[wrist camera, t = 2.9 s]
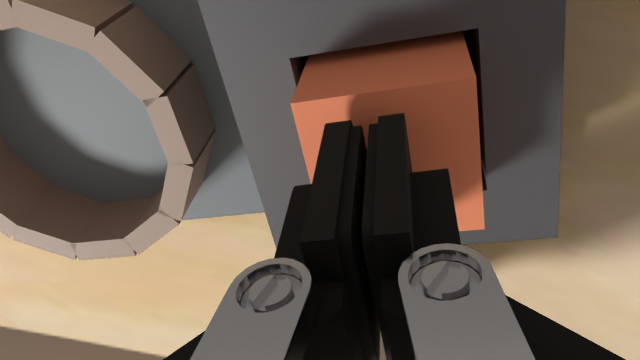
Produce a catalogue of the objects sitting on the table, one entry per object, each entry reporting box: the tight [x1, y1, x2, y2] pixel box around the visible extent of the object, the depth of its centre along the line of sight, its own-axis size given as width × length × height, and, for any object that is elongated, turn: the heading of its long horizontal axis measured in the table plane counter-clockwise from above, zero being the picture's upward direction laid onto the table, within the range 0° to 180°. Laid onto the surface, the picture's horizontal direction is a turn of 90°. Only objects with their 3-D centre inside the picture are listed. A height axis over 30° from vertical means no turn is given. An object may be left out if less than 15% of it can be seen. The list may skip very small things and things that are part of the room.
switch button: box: [290, 31, 485, 231], centre depth 14 cm, size 4×4×4 cm
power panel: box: [0, 0, 566, 260], centre depth 17 cm, size 21×10×5 cm, turn 101°
